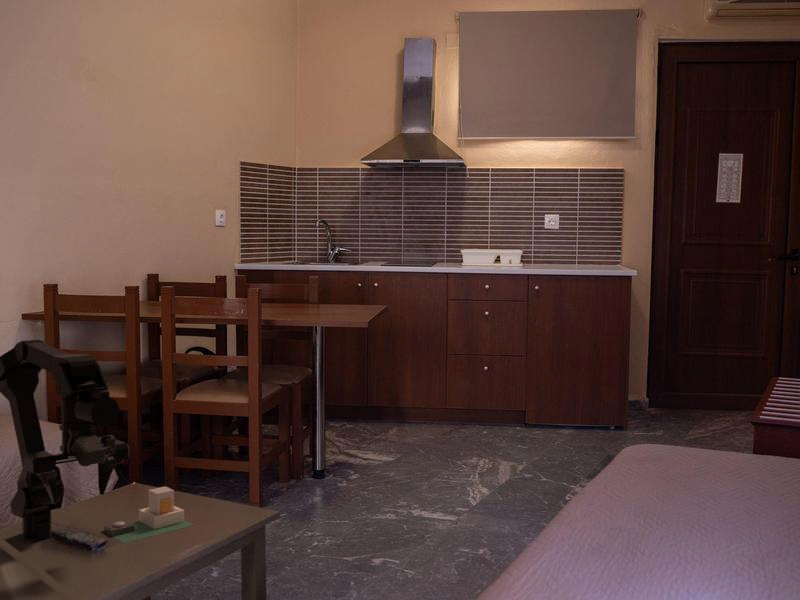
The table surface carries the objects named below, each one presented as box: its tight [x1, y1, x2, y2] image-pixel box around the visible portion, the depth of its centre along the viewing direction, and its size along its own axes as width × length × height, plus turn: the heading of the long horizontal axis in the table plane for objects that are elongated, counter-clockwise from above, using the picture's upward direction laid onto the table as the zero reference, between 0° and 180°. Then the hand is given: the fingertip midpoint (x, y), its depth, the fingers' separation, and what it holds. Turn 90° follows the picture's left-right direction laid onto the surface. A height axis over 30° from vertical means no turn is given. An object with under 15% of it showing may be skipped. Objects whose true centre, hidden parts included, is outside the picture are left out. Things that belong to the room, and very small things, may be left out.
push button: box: [103, 520, 134, 537], centre depth 171 cm, size 5×5×2 cm
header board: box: [102, 505, 194, 544], centre depth 173 cm, size 10×16×4 cm, turn 134°
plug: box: [148, 485, 175, 516], centre depth 177 cm, size 4×4×7 cm
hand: (78, 499), depth 157 cm, fingers open, 9 cm apart
